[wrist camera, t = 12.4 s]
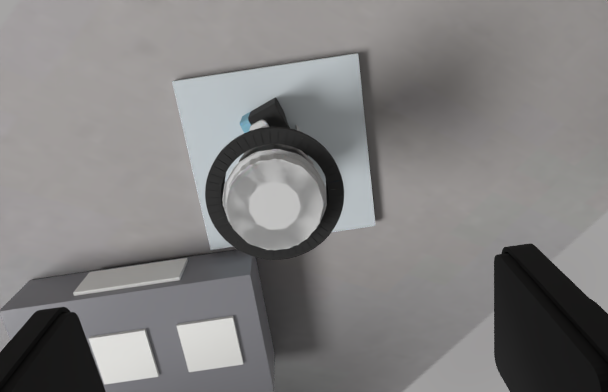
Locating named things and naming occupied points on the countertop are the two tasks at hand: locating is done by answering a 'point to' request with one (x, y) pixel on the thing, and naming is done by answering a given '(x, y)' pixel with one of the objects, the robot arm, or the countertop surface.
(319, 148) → the push button
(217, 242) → the pale blue mat
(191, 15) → the countertop surface
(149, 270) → the power strip
